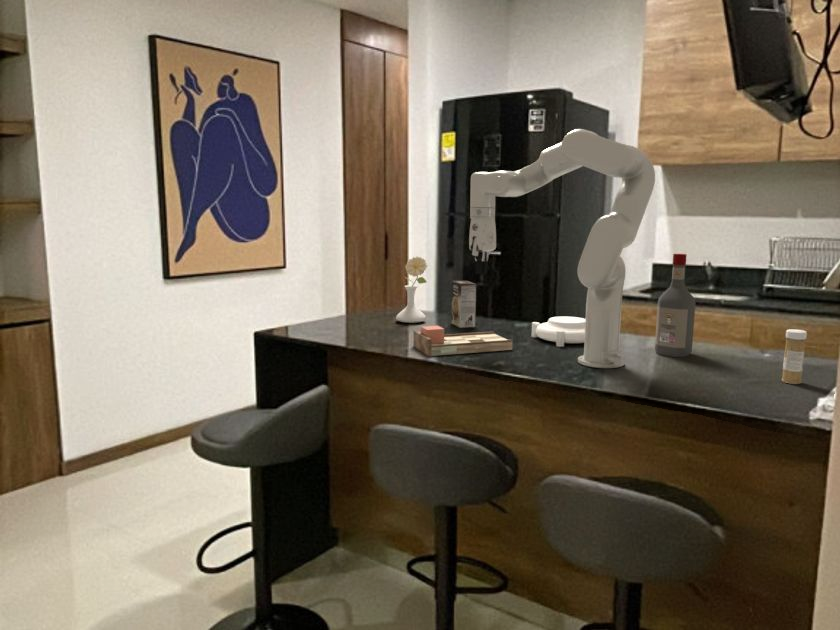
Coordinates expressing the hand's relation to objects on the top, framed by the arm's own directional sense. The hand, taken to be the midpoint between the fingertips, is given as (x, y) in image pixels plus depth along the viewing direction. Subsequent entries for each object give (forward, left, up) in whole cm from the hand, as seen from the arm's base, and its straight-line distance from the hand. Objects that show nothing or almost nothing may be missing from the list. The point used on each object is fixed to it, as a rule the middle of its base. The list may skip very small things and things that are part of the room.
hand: (481, 273), depth 204 cm
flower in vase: (+47, +7, -23) cm, 53 cm away
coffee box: (+36, -9, -23) cm, 44 cm away
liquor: (-26, -52, -23) cm, 63 cm away
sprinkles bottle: (-62, -59, -23) cm, 89 cm away
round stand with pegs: (+2, -32, -24) cm, 40 cm away
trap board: (0, +5, -23) cm, 24 cm away
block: (0, +16, -21) cm, 26 cm away
